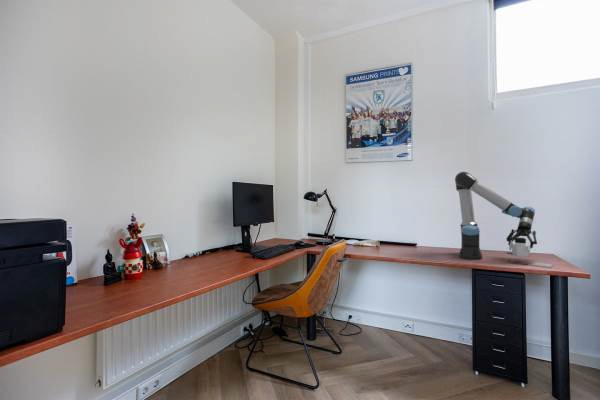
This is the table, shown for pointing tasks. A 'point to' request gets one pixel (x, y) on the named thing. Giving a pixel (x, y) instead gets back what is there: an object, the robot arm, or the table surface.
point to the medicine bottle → (520, 247)
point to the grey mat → (542, 265)
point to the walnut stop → (518, 262)
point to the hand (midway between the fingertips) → (519, 250)
